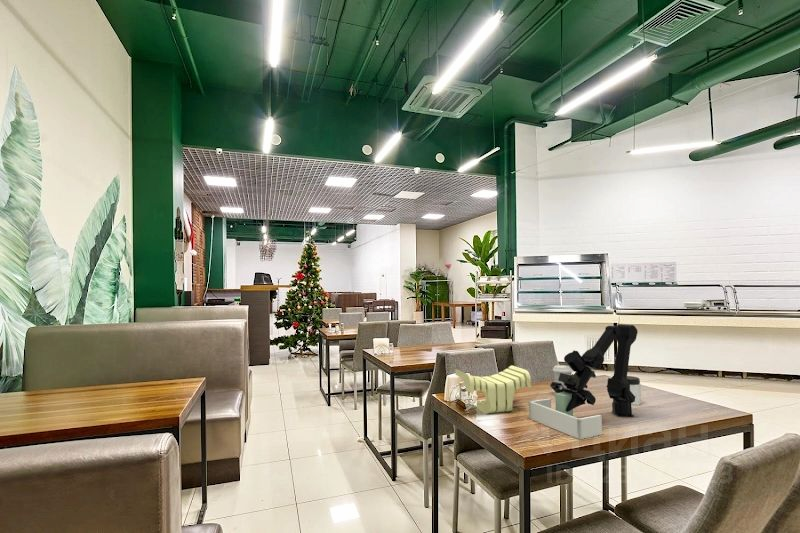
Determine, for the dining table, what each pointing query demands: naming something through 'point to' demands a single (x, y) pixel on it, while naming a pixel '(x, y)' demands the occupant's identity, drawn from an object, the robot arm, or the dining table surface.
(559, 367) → the coffee cup
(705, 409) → the dining table surface
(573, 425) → the cream u-shaped wall
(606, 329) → the robot arm
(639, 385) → the jar
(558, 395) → the block
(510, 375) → the slatted curved stool
